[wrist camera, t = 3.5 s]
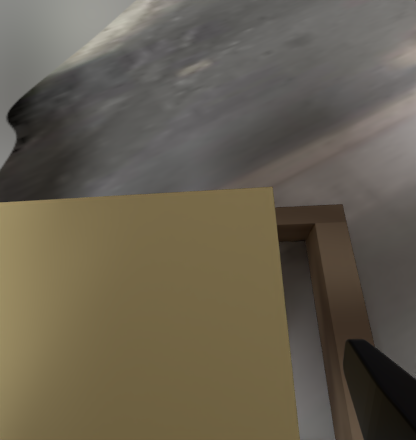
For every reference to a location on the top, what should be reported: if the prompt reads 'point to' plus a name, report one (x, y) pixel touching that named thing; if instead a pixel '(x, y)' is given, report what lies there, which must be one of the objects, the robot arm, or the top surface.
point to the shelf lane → (331, 297)
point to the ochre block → (144, 319)
